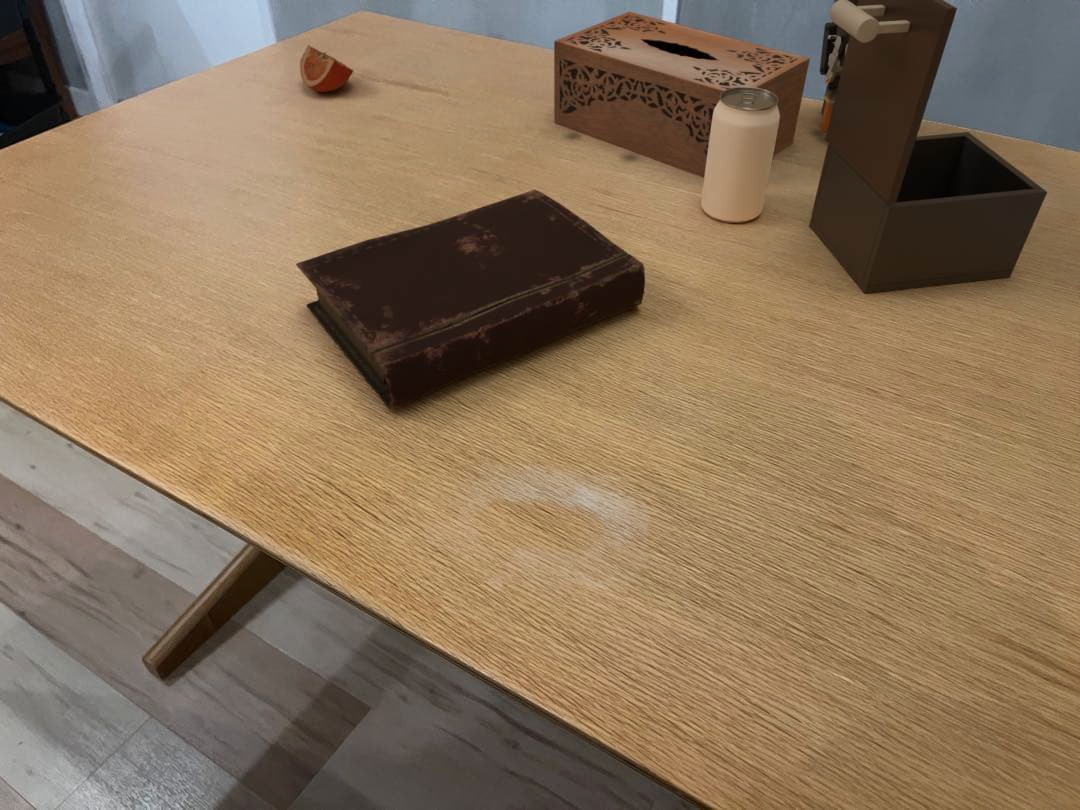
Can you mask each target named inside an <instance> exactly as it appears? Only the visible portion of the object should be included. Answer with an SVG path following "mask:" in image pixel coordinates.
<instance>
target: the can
mask: <svg viewBox="0 0 1080 810" xmlns="http://www.w3.org/2000/svg"><path fill="white" fill-rule="evenodd" d="M778 101H779V99H778V97H777V96H776V95H775V94H774V93H772V92H770V91H768V90H765V89H761V88H756V87H734V88H730V89H727V90H725V91H723V92H722V93H721V94H720V100H719V102H718V104H717V105H716V107H715V109H714V112H713V117H712V124H711V131H710V138H709V146H708V153H707V161H706V168H705V176H704V177H703V183H702V184H703V185H702V193H701V200H700V201H701V202H700V205H701V208H702V210H703V211H704V213H705V214H706V215H707V216H708V217H710V218H712V219H714V220H715V221H718V222H722V223H729V224H743V223H747V222H751V221H753V220H755V219H756V218H758V216H759V215H761V213H762V212H763V209H764V204H765V200H766V195H767V194H766V193H767V190H768V189H767V188H768V185H769V179H770V173H771V167H772V162H773V158H774V155H773V153H774V147H775V142H776V137H777V131H778V125H779V119H780V113H779V110H778V106H777V104H778Z"/></svg>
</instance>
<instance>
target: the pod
mask: <svg viewBox="0 0 1080 810" xmlns="http://www.w3.org/2000/svg"><path fill="white" fill-rule="evenodd" d="M836 92H837V88H836V89H831V90H828V91H826V90H825V92H824V94H823V100H824V99H825V101H826V105H825V110H824V114H823V115H822V119H821V124H820V128H821V129H822V131H824V132H826V133H827V130H828V126H829V122H830V117H831V113H832V109H833V105H834V101H835V96H836Z"/></svg>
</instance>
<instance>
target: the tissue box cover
mask: <svg viewBox="0 0 1080 810" xmlns="http://www.w3.org/2000/svg"><path fill="white" fill-rule="evenodd" d="M810 61H811V57H807V56H803V55H799V54H796V53H791V52H787V51H784V50H780V49H777V48H772V47H768V46H765V45H761V44H756V43H752V42H749V41H746V40H745V41H744V40H742V39H738V38H733V37H729V36H726V35H722V34H719V33H713V32H709V31H706V30H703V29H698V28H694V27H690V26H686V25H683V24H679V23H675V22H671V21H667V20H663V19H659V18H657V17H651V16H647V15H644V14H640V13H636V12H632V11H627V12H625V13H622V14H619V15H616V16H615V17H612V18H610V19H606V20H604V21H602V22H599V23H597V24H594V25H591V26H589V27H585V28H584V29H582V30H578V31H576V32H573V33H570V34H568V35H565V36H562V37H561V38H558V39H556V40H554V41H553V63H554V64H553V70H554V71H553V73H554V74H553V76H554V77H553V78H554V79H553V81H554V82H553V85H554V86H553V88H554V89H553V91H554V92H553V93H554V94H553V97H554V98H553V101H554V103H553V107H554V113H553V116H554V118H553V119H554V120H553V123H554V124H558V125H559V126H561V127H562V126H563V127H565V128H569V129H571V130H574V131H576V132H579V133H581V134H584V135H586V136H590V137H592V138H596V139H598V140H601V141H604V142H606V143H609V144H612V145H614V146H616V147H620V148H622V149H625V150H629V151H632V152H634V153H636V154H639V155H641V156H642V155H643V156H645V157H648V158H650V159H653V160H656V161H659V162H661V163H663V164H667V165H669V166H672V167H675V168H677V169H681V170H682V171H686V172H689V173H691V174H694V175H697V176H699V177H703V178H704V176H705V168H706V161H707V153H708V146H709V138H710V131H711V124H712V117H713V112H714V109H715V107H716V105H717V104H718V102H719V100H720V94H721V93H722V92H723V91H725V90H727V89H730V88H734V87H756V88H761V89H765V90H768V91H770V92H772V93H774V94H775V95H776V96H777V97H778V99H779V101H778V104H777V106H778V110H779V113H780V119H779V125H778V131H777V137H776V142H775V147H774V153H773V156H775V155H777V154H779V152H781V151H783V150H784V149H786V148H788V147H789V146H790V145H792V144H793V143H794V139H795V134H796V130H797V125H798V120H799V115H800V110H801V105H802V100H803V95H804V89H805V85H806V79H807V74H808V70H809V65H810Z"/></svg>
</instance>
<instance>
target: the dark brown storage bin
mask: <svg viewBox="0 0 1080 810" xmlns="http://www.w3.org/2000/svg"><path fill="white" fill-rule="evenodd" d="M824 155H825V156H824V159H823V163H822V167H821V168H822V169H821V173H820V176H819V181H818V184H817V190H816V194H815V199H814V203H813V207H812V210H811V211H812V212H811V216H810V220H809V224H808V226H809V227H810V229H811V230H812V231H813V232H814V233H815V235H816V236H817V237H818V238H819V240H820V241H821V242H822V243H823V245H824V246H825V247H826V248H827V250H829V252H830V253H831V254H832V256H834V258H835V260H836V261H837V262H838V263H839V264H840V266H841V267H842V268H843V269H844V270H845V272H846V273H847V274H848V275H849V277H850V278H851V279H852V280H853V281H854V282H855V284H856V285H857V287H859V289H860V290H861V292H863V294H873V293H882V292H892V291H899V290H900V291H901V290H911V289H918V288H926V287H935V286H944V285H953V284H963V283H970V282H971V283H972V282H979V281H980V282H981V281H988V280H989V281H990V280H997V279H1007V278H1011V276H1012V274H1013V271H1014V269H1015V267H1016V265H1017V263H1018V260H1019V258H1020V256H1021V253H1022V251H1023V249H1024V247H1025V244H1026V242H1027V240H1028V237H1029V235H1030V232H1031V231H1032V228H1033V226H1034V224H1035V222H1036V219H1037V217H1038V214H1039V212H1040V210H1041V208H1042V205H1043V203H1044V202H1045V199H1046V196H1047V194H1048V191H1047V190H1046V189H1045V188H1043V187H1042V186H1041V185H1039V184H1038V183H1036V182H1035V181H1034V180H1032V179H1031V178H1030V177H1029V176H1027V175H1026V174H1024V172H1022V171H1021V170H1020V169H1018V168H1017V167H1016V166H1014V165H1013V164H1011V163H1010V162H1009V161H1007V160H1006V159H1004V158H1003V157H1002V156H1001V155H999V154H998V153H997V152H996V151H994V150H993V149H991V148H990V147H989V146H988V145H986V144H985V143H984V142H982V141H981V140H980V139H978V138H977V137H976V136H975V135H973V134H972V133H970V132H969V131H963V132H962V131H961V132H952V133H940V134H939V133H938V134H930V135H920V136H919V135H917V138H916V141H915V144H914V147H913V150H912V153H911V157H910V160H909V163H908V166H907V169H906V172H905V176H904V179H903V182H902V185H901V188H900V191H899V195H898V198H897V201H896V202H891V203H888V202H887V201H886V200H885V199H884V198H883V197H882V196H881V195H880V194H879V193H878V192H877V191H876V190H875V189H874V188H873V187H872V186H871V185H870V184H869V183H868V182H867V181H866V180H865V179H864V178H863V177H862V176H861V175H860V174H859V173H858V172H857V171H856V170H855V169H854V168H853V167H852V166H851V165H850V164H849V163H848V162H847V161H846V160H845V159H844V158H843V157H842V156H841V155H840V154H839V153H838V152H837V151H836V150H835V149H834V148H833V147H832V146H831V145H830V144H829V143H828V144H827V147H826V151H825V154H824Z"/></svg>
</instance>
